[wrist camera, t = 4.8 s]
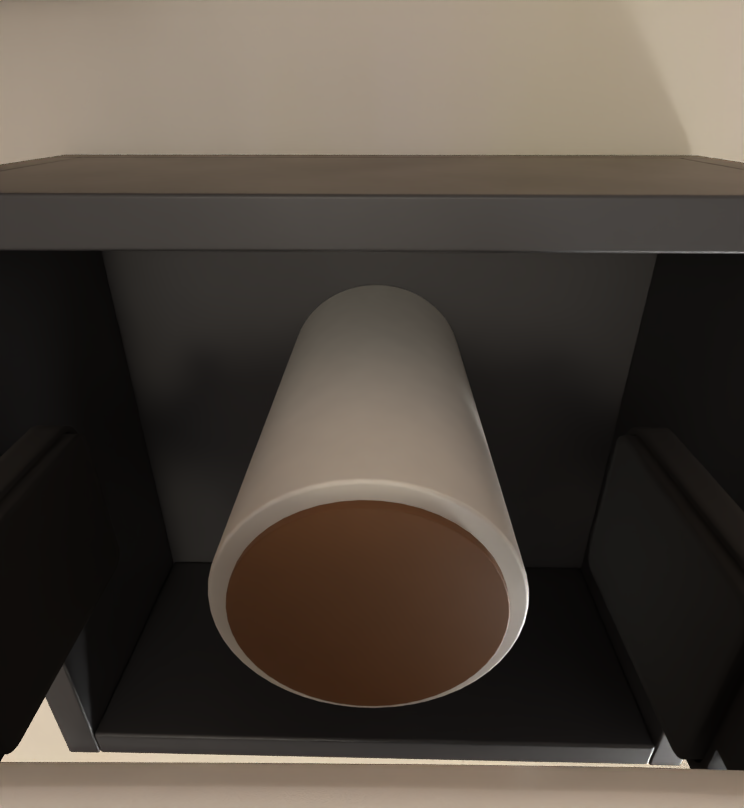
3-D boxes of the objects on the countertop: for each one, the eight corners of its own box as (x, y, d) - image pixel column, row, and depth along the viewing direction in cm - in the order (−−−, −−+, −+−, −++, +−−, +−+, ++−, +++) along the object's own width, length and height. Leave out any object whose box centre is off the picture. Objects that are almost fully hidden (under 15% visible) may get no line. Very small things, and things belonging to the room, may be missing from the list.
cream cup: (387, 247, 14) (391, 420, 6) (491, 375, 15) (594, 637, 8) (259, 355, 15) (135, 601, 8) (366, 461, 17) (351, 751, 9)
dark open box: (63, 154, 14) (-185, 192, 8) (698, 155, 13) (950, 195, 7) (162, 560, 20) (69, 753, 14) (592, 567, 20) (681, 766, 14)
